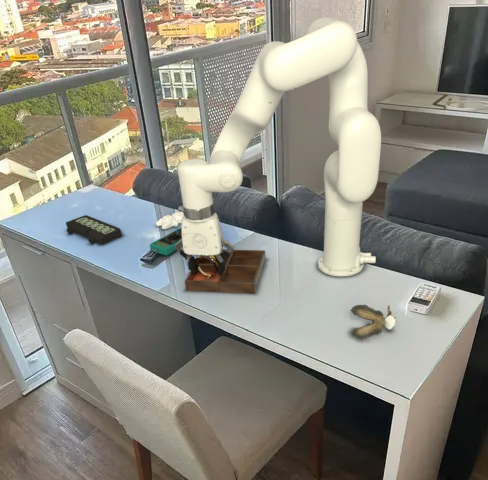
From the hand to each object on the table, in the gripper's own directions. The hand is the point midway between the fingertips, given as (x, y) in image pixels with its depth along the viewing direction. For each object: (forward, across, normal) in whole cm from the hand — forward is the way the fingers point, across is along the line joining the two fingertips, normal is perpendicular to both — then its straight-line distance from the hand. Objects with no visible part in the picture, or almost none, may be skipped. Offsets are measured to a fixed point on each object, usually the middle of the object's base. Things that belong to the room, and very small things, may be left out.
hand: (207, 272), depth 133 cm
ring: (+2, 0, 0) cm, 2 cm away
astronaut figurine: (+3, -23, +38) cm, 45 cm away
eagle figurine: (+4, +43, -18) cm, 47 cm away
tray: (+3, +4, +4) cm, 7 cm away
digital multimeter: (+3, -17, +22) cm, 27 cm away
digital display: (+3, -48, +28) cm, 56 cm away
